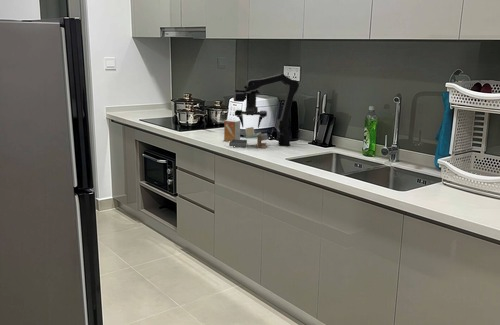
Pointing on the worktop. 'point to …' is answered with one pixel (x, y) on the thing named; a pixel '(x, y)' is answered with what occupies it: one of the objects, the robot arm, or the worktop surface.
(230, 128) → the small box
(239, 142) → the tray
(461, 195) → the worktop surface
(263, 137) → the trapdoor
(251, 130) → the stone
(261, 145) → the frame
